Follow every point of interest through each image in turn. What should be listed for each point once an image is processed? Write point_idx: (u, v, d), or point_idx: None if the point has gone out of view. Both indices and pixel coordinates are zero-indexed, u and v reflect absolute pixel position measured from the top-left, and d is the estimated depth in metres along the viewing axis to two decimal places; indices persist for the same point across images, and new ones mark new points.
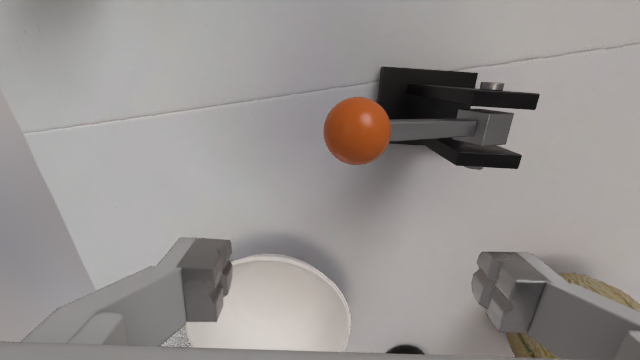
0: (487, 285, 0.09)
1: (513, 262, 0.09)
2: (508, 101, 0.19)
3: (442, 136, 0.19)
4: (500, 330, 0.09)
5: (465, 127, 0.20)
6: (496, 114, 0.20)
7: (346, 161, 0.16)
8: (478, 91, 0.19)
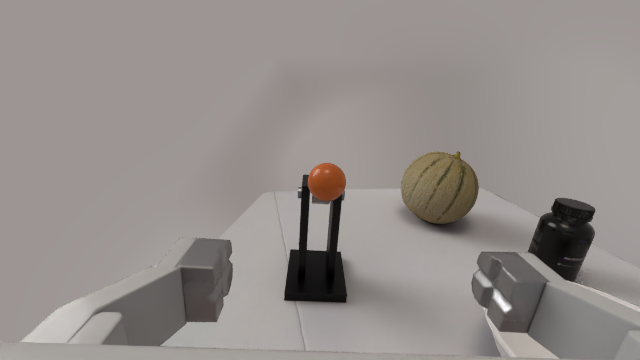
0: (487, 285, 0.09)
1: (513, 262, 0.09)
2: (307, 179, 0.39)
3: None
4: (500, 330, 0.09)
5: None
6: None
7: (343, 175, 0.28)
8: (302, 184, 0.37)
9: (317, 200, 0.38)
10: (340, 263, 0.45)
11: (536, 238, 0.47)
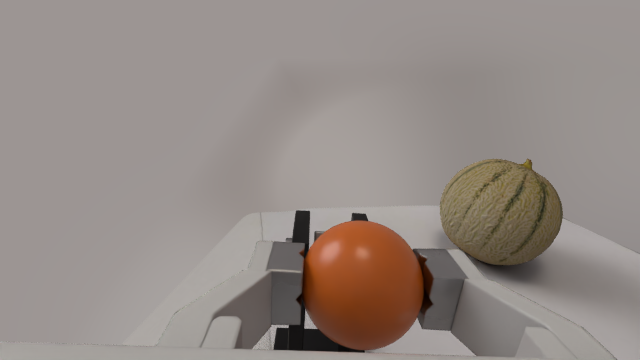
0: None
1: (438, 259, 0.09)
2: (303, 222, 0.19)
3: None
4: (423, 328, 0.09)
5: None
6: (316, 231, 0.19)
7: (418, 267, 0.08)
8: (293, 239, 0.17)
9: None
10: None
11: None
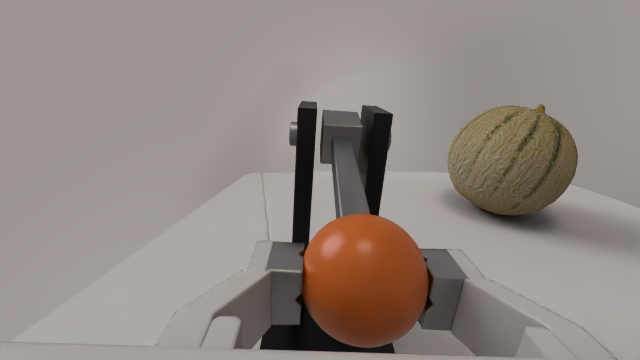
0: None
1: (438, 259, 0.09)
2: (309, 104, 0.18)
3: (355, 163, 0.14)
4: (423, 328, 0.09)
5: (341, 145, 0.16)
6: (324, 120, 0.17)
7: (425, 290, 0.08)
8: (300, 106, 0.16)
9: (331, 161, 0.17)
10: None
11: None
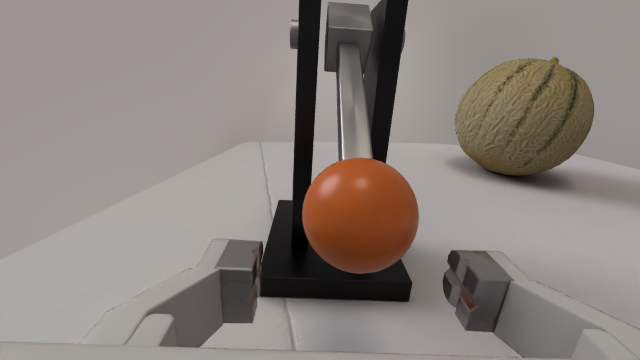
0: (456, 283, 0.09)
1: (480, 260, 0.09)
2: None
3: (361, 82, 0.13)
4: (466, 329, 0.09)
5: (347, 55, 0.14)
6: (329, 19, 0.15)
7: (414, 233, 0.09)
8: None
9: (336, 69, 0.16)
10: None
11: None
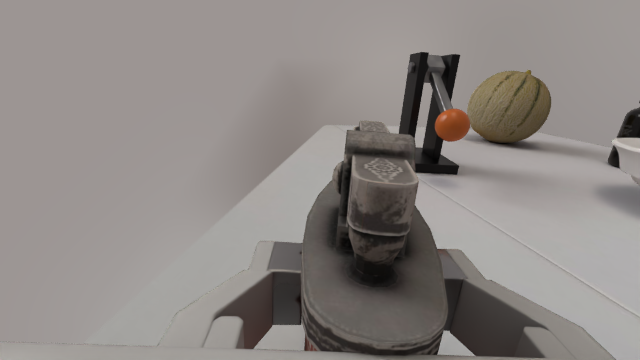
0: None
1: None
2: None
3: (444, 87, 0.37)
4: None
5: (436, 76, 0.38)
6: (428, 63, 0.39)
7: (469, 127, 0.32)
8: (420, 52, 0.38)
9: (427, 81, 0.40)
10: None
11: (623, 133, 0.48)
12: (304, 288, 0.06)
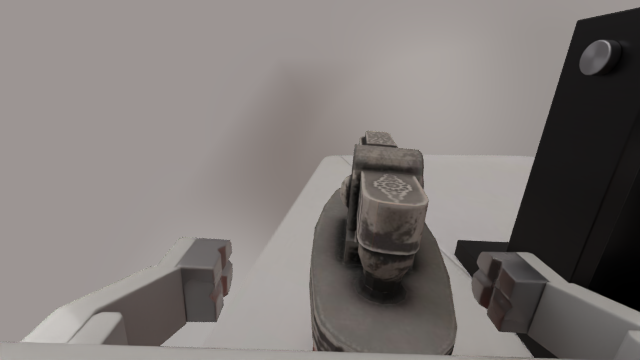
0: (487, 285, 0.09)
1: (513, 262, 0.09)
2: None
3: None
4: (500, 330, 0.09)
5: None
6: None
7: None
8: None
9: None
10: None
11: None
12: (315, 305, 0.06)
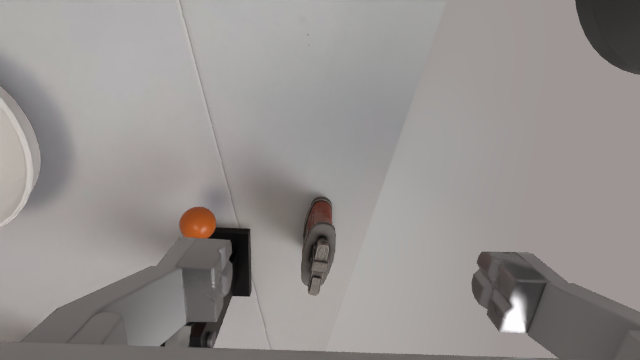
0: (487, 285, 0.09)
1: (513, 262, 0.09)
2: None
3: None
4: (500, 330, 0.09)
5: None
6: (189, 334, 0.28)
7: (183, 214, 0.31)
8: (199, 340, 0.27)
9: None
10: None
11: None
12: (335, 235, 0.32)
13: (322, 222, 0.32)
